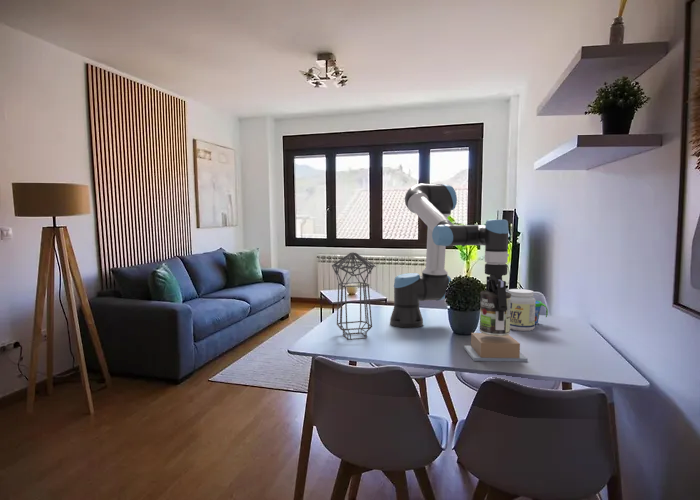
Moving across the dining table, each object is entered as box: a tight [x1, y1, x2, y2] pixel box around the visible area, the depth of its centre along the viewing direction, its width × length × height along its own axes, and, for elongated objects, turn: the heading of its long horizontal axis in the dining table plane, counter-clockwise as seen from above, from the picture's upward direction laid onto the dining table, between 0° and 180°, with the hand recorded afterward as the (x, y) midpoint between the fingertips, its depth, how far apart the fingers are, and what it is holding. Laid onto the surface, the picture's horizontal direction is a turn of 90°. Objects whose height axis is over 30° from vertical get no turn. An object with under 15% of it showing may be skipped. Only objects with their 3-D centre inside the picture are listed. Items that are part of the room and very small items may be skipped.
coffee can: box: [479, 290, 511, 336], centre depth 143 cm, size 10×10×14 cm
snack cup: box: [535, 299, 549, 325], centre depth 190 cm, size 16×10×10 cm
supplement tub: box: [508, 288, 537, 332], centre depth 180 cm, size 12×12×17 cm
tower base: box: [463, 332, 528, 363], centre depth 144 cm, size 18×14×6 cm
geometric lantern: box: [331, 252, 377, 341], centre depth 167 cm, size 16×16×35 cm
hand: (494, 325), depth 143 cm, fingers closed on coffee can, 10 cm apart
